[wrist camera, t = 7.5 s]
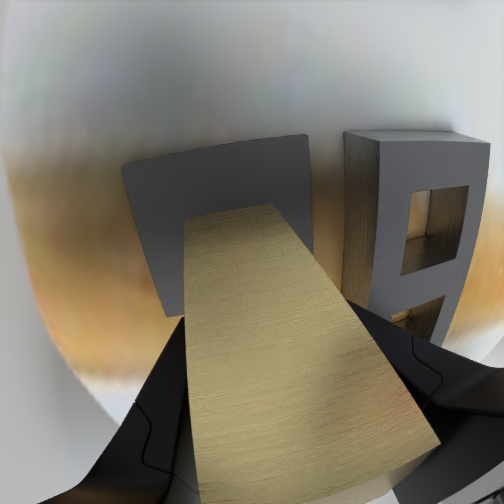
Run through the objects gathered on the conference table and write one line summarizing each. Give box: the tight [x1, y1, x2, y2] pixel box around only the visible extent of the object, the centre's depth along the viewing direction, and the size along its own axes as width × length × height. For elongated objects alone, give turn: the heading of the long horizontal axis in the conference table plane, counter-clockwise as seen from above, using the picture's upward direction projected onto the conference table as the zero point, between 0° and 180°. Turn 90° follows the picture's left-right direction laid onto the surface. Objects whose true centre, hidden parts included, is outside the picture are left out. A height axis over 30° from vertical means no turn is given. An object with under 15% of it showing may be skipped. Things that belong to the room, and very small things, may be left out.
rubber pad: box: [121, 134, 313, 317], centre depth 14 cm, size 8×8×1 cm
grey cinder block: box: [341, 130, 490, 347], centre depth 16 cm, size 8×16×3 cm, turn 6°
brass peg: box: [184, 203, 441, 504], centre depth 8 cm, size 3×3×10 cm
